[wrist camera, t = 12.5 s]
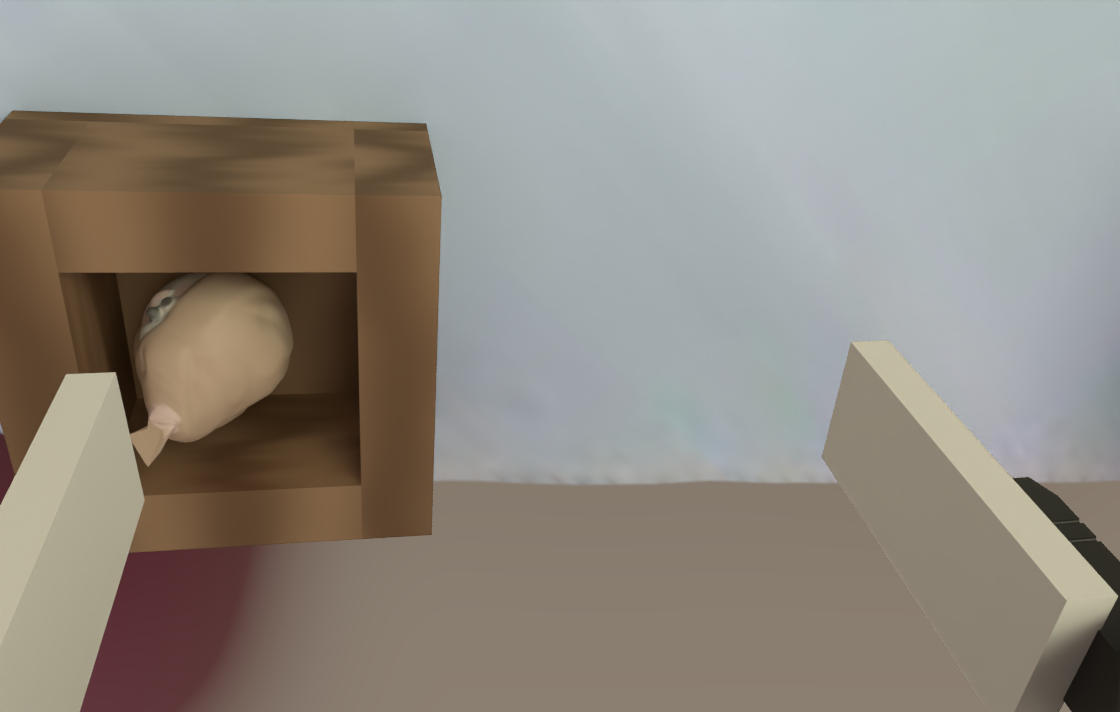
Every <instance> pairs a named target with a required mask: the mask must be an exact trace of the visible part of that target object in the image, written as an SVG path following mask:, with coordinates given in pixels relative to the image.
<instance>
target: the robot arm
mask: <svg viewBox="0 0 1120 712" xmlns="http://www.w3.org/2000/svg"><path fill="white" fill-rule="evenodd" d="M822 458H823V460H824V461H825V463H826V464H827V466H828V467H829V469H830V470H831V472H832V473H833V475H834V477H835V478H836V480H837V481H838V483H839V484H840V486H841V487H842V489H843V490H844V492H845V493H846V495H847V496H848V498H849V499H850V501H851V503H852V504H853V506H854V507H855V509H856V510H857V512H858V513H859V515H860V516H861V518H862V519H863V521H864V523H865V524H866V525H867V527H868V529H869V530H870V532H871V533H872V535H873V536H874V538H875V539H876V541H877V542H878V544H879V546H880V547H881V549H882V550H883V552H884V553H885V555H886V556H887V558H888V559H889V561H890V562H891V564H892V566H893V567H894V569H895V570H896V572H897V573H898V575H899V576H900V578H901V579H902V581H903V582H904V584H905V585H906V587H907V588H908V590H909V592H910V593H911V595H912V596H913V598H914V599H915V601H916V602H917V604H918V605H919V607H920V608H921V610H922V612H923V613H924V615H925V616H926V617H927V619H928V621H929V622H930V623H931V625H932V627H933V628H934V630H935V631H936V633H937V635H938V636H939V638H940V639H941V641H942V642H943V644H944V645H945V647H946V648H947V650H948V651H949V653H950V654H951V656H952V658H953V659H954V661H955V662H956V664H957V665H958V667H959V668H960V670H961V671H962V673H963V674H964V676H965V677H966V679H967V680H968V682H969V683H970V685H971V687H972V688H973V690H974V691H975V692H976V694H977V696H978V697H979V699H980V700H981V702H982V704H983V705H984V706H985V708H986V710H987V711H988V712H1059V711H1060V709H1061V707H1062V705H1063V703H1064V702H1065V703H1066V704H1067V706H1068V707H1069V708H1070V710H1071V711H1072V712H1120V562H1119V560H1118V559H1116V557H1115V556H1114V555H1113V554H1112V553H1111V552H1110V551H1109V550H1108V549H1107V548H1106V547H1105V546H1104V545H1103V544H1102V542H1097V540H1096V536H1095V535H1094V534H1093V533H1092V532H1091V531H1090V530H1089V529H1088V528H1087V527H1086V525H1085V524H1084V523H1080V522H1079V518H1078V517H1077V516H1076V515H1075V514H1074V513H1073V512H1072V511H1071V510H1070V509H1069V507H1068V506H1067V505H1066V504H1065V503H1064V502H1063V501H1062V500H1061V499H1060V498H1059V497H1058V496H1057V495H1055V494H1054V493H1052V492H1051V491H1049V490H1047V489H1046V488H1044V487H1043V486H1041V485H1040V484H1038V483H1037V482H1035V481H1034V480H1032V479H1031V478H1029V477H1025V478H1012V477H1011V476H1010V475H1009V474H1008V473H1007V472H1006V471H1005V470H1004V468H1003V467H1002V466H1001V465H1000V464H999V463H998V462H997V461H996V460H995V458H994V457H993V456H992V455H991V454H990V453H989V452H988V451H987V450H986V448H985V447H984V446H983V445H982V444H981V443H980V442H979V441H978V440H977V438H976V437H975V436H974V435H973V434H972V433H971V432H970V431H969V430H968V428H967V427H966V426H965V425H964V424H963V423H962V422H961V421H960V420H959V418H958V417H957V416H956V415H955V414H954V413H953V412H952V411H951V410H950V408H949V407H948V406H947V405H946V404H945V403H944V402H943V401H942V400H941V398H940V397H939V396H938V395H937V394H936V393H935V392H934V391H933V390H932V388H931V387H930V386H929V385H928V384H927V383H926V382H925V381H924V380H923V378H922V377H921V376H920V375H919V374H918V373H917V372H916V371H915V370H914V368H913V367H912V366H911V365H910V364H909V363H908V362H907V361H906V360H905V358H904V357H903V356H902V355H901V354H900V353H899V352H898V351H897V350H896V348H895V347H894V346H893V345H892V344H891V343H890V342H889V341H888V340H887V341H862V342H851V344H850V348H849V352H848V356H847V360H846V364H845V368H844V372H843V376H842V380H841V384H840V388H839V392H838V395H837V399H836V403H835V407H834V411H833V415H832V419H831V423H830V427H829V431H828V435H827V439H826V443H825V446H824V450H823V454H822ZM144 501H145V499H144V495H143V490H142V486H141V481H140V477H139V473H138V468H137V464H136V459H135V455H134V451H133V446H132V442H131V437H130V433H129V429H128V424H127V420H126V415H125V411H124V407H123V402H122V398H121V393H120V389H119V385H118V380H117V376H116V372H109V373H84V374H66V376H65V378H64V380H63V382H62V384H61V385H60V387H59V389H58V391H57V393H56V395H55V397H54V399H53V401H52V403H51V405H50V407H49V409H48V411H47V413H46V415H45V417H44V419H43V421H42V423H41V425H40V427H39V429H38V431H37V433H36V435H35V437H34V439H33V441H32V443H31V445H30V447H29V449H28V451H27V453H26V455H25V457H24V459H23V461H22V463H21V465H20V467H19V469H18V471H17V473H16V475H15V478H14V480H13V482H12V484H11V486H10V487H9V489H8V491H7V493H6V496H5V497H4V499H3V501H2V503H1V505H0V712H80V709H81V706H82V702H83V699H84V696H85V693H86V689H87V686H88V683H89V680H90V676H91V673H92V670H93V667H94V663H95V660H96V657H97V653H98V650H99V647H100V644H101V641H102V637H103V634H104V631H105V627H106V624H107V621H108V618H109V614H110V611H111V608H112V605H113V601H114V598H115V595H116V592H117V588H118V585H119V582H120V579H121V576H122V572H123V569H124V565H125V563H126V559H127V556H128V553H129V550H130V546H131V543H132V540H133V537H134V533H135V530H136V527H137V524H138V520H139V517H140V514H141V511H142V507H143V504H144Z"/></svg>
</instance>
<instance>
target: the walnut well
mask: <svg viewBox="0 0 1120 712" xmlns="http://www.w3.org/2000/svg"><path fill="white" fill-rule="evenodd" d="M441 197H442V196H441V192H440V187H439V182H438V178H437V173H436V168H435V163H434V159H433V154H432V149H431V145H430V140H429V135H428V130H427V126H426V124H419V123H388V122H356V121H324V120H292V119H260V118H228V117H196V116H165V115H133V114H101V113H69V112H37V111H12V112H11V113H10V114H9V115H8V116H7V117H6V118H5V119H4V120H3V121H2V122H1V124H0V422H1V426H2V429H3V433H4V437H5V440H6V444H7V448H8V452H9V456H10V459H11V463H12V467H13V470H14V474H15V475H16V473H17V471H18V469H19V467H20V465H21V463H22V461H23V459H24V457H25V455H26V453H27V451H28V449H29V447H30V445H31V443H32V441H33V439H34V437H35V435H36V433H37V431H38V429H39V427H40V425H41V423H42V421H43V419H44V417H45V415H46V413H47V411H48V409H49V407H50V405H51V403H52V401H53V399H54V397H55V395H56V393H57V391H58V389H59V387H60V385H61V384H62V382H63V380H64V378H65V376H66V374H84V373H109V372H116V376H117V380H118V385H119V389H120V393H121V398H122V402H123V407H124V411H125V415H126V420H127V424H128V429H129V433H130V434H131V433H134V432H136V431H138V430H140V429H142V428H144V427H146V426H148V412H147V409H146V406H145V402H144V397H143V391H142V386H141V384H140V381H139V378H138V375H137V372H136V366H135V357H134V350H133V344H134V338H135V335H136V333H137V331H138V329H139V328H140V326H141V324H142V318H143V315H144V312H145V309H146V307H147V305H148V303H149V302H150V300H151V299H152V297H153V296H154V295H155V294H156V293H157V292H158V291H159V290H160V289H161V288H162V287H164V286H165V285H166V284H168V283H169V282H171V281H173V280H174V279H176V278H178V277H181V276H183V275H186V274H189V273H192V272H243V273H245V274H247V275H249V276H251V277H253V278H255V279H257V280H259V281H260V282H262V283H264V284H265V285H267V286H268V287H270V288H271V289H272V290H273V291H274V292H275V293H276V294H277V296H278V298H279V299H280V301H281V303H282V305H283V307H284V308H285V310H286V312H287V314H288V318H289V322H290V326H291V329H292V334H293V342H294V345H293V350H292V353H291V355H290V361H289V366H288V369H287V372H286V374H285V376H284V377H283V379H282V380H281V381H280V383H279V384H278V385H277V387H276V388H275V389H274V390H273V391H272V392H271V393H270V394H269V395H268V396H266V397H264V398H263V399H261V400H259V401H258V402H256V403H254V404H253V405H251V406H249V407H247V409H246V410H245V411H244V412H243V413H242V414H241V415H239V416H238V417H236V418H234V419H233V420H232V421H230V422H229V423H227V424H225V425H224V426H222V427H219V428H217V429H215V430H214V431H213V432H211V433H210V434H208V435H206V436H205V437H203V438H201V439H199V440H196V441H193V442H177V441H173V440H170V439H167V441H166V443H165V445H164V447H163V449H162V451H161V453H160V454H159V455H158V456H157V457H156V458H155V459H154V461H153V462H152V463H151V464H150V465H149V466H148V467H147V465H146V464H145V462H144V461H143V459H142V458H141V456H140V454H139V453H138V451H137V449H136V448H135V446H134V445H133V443H132V446H133V451H134V455H135V459H136V464H137V468H138V473H139V477H140V481H141V486H142V490H143V495H144V499H145V501H144V504H143V507H142V511H141V514H140V517H139V520H138V524H137V527H136V530H135V533H134V537H133V540H132V543H131V546H130V550H129V553H131V552H149V551H166V550H183V549H200V548H214V547H215V548H217V547H234V546H250V545H267V544H284V543H300V542H301V543H302V542H317V541H335V540H352V539H369V538H386V537H403V536H420V535H432V502H433V468H434V434H435V400H436V366H437V333H438V299H439V265H440V231H441ZM131 442H132V441H131Z"/></svg>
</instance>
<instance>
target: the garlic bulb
mask: <svg viewBox="0 0 1120 712" xmlns="http://www.w3.org/2000/svg"><path fill="white" fill-rule="evenodd" d="M293 345H294V342H293V334H292V329H291V326H290V322H289V318H288V314H287V312H286V310H285V308H284V307H283V305H282V303H281V301H280V299H279V298H278V296H277V294H276V293H275V292H274V291H273V290H272V289H271V288H270V287H268V286H267V285H265V284H264V283H262V282H260V281H259V280H257V279H255V278H253V277H251V276H249V275H247V274H245V273H243V272H192V273H189V274H186V275H183V276H181V277H178V278H176V279H174V280H173V281H171V282H169V283H168V284H166V285H165V286H164V287H162V288H161V289H160V290H159V291H158V292H157V293H156V294H155V295H154V296H153V297H152V299H151V300H150V302H149V303H148V305H147V307H146V309H145V312H144V315H143V318H142V324H141V326H140V328H139V329H138V331H137V333H136V335H135V338H134V344H133V350H134V357H135V366H136V372H137V375H138V378H139V381H140V384H141V386H142V391H143V397H144V402H145V406H146V409H147V412H148V426H146V427H144V428H142V429H140V430H138V431H136V432H134V433H131V434H130V437H131V441H132V443H133V445H134V446H135V448H136V449H137V451H138V453H139V454H140V456H141V458H142V459H143V461H144V462H145V464H146V465H147V467H148V466H149V465H150V464H151V463H152V462H153V461H154V459H155V458H156V457H157V456H158V455H159V454H160V453H161V451H162V449H163V447H164V445H165V443H166V441H167V439H170V440H173V441H177V442H193V441H196V440H199V439H201V438H203V437H205V436H206V435H208V434H210V433H211V432H213V431H214V430H215V429H217V428H219V427H222V426H224V425H225V424H227V423H229V422H230V421H232V420H233V419H234V418H236V417H238V416H239V415H241V414H242V413H243V412H244V411H245V410H246V409H247V407H249V406H251V405H253V404H254V403H256V402H258V401H259V400H261V399H263V398H264V397H266V396H268V395H269V394H270V393H271V392H272V391H273V390H274V389H275V388H276V387H277V385H278V384H279V383H280V381H281V380H282V379H283V377H284V376H285V374H286V372H287V369H288V366H289V361H290V355H291V353H292V350H293Z"/></svg>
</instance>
